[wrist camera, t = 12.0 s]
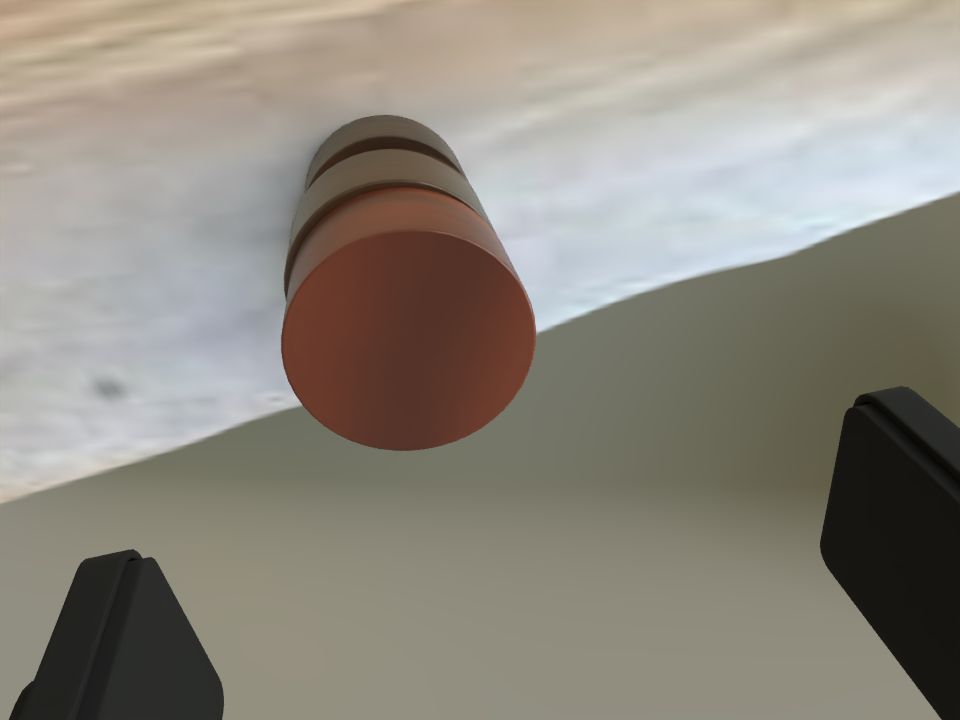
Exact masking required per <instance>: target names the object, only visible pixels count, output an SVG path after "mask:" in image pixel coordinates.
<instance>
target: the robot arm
mask: <svg viewBox="0 0 960 720" xmlns="http://www.w3.org/2000/svg"><path fill="white" fill-rule="evenodd" d="M820 548H821V554H822V557H823V560H824V562H825V564H826V566H827V568H828V569H829V570H830V572H831V573H832V574H833V576H834V577H835V579H836V580H837V581H838V583H839V584H840V585H841V587H842V588H843V589H844V590H845V592H846V593H847V594H848V596H849V597H850V598H851V600H852V601H853V602H854V604H855V605H856V606H857V608H858V609H859V610H860V612H861V613H862V614H863V616H864V617H865V618H866V620H867V621H868V622H869V624H870V625H871V626H872V628H873V629H874V630H875V631H876V633H877V634H878V636H879V637H880V638H881V640H882V641H883V642H884V643H885V645H886V646H887V647H888V649H889V650H890V652H891V653H892V654H893V655H894V657H895V658H896V659H897V661H898V662H899V663H900V665H901V666H902V667H903V669H904V670H905V671H906V673H907V674H908V675H909V677H910V678H911V679H912V681H913V682H914V683H915V685H916V686H917V687H918V689H919V690H920V691H921V693H922V694H923V695H924V697H925V698H926V699H927V701H928V702H929V703H930V705H931V706H932V707H933V709H934V710H935V711H936V713H937V714H938V715H939V717H940V718H941V719H942V720H960V428H958V427H957V426H956V425H955V424H954V423H952V422H951V421H950V420H949V419H948V418H946V417H945V416H944V415H943V414H942V413H940V412H939V411H938V410H937V409H935V408H934V407H933V406H932V405H931V404H929V403H928V402H927V401H926V400H925V399H923V398H922V397H921V396H920V395H918V394H917V393H916V392H915V391H913V390H912V389H909V388H908V387H903V386H900V387H895V388H890V389H886V390H881V391H876V392H871V393H867V394H863V395H860V396H859V397H858V398H857V399H856V400H855V403H854V406H853V407H852V408H849V409H848V410H847V411H846V414H845V416H844V421H843V426H842V431H841V436H840V442H839V447H838V452H837V457H836V462H835V468H834V474H833V478H832V483H831V489H830V494H829V499H828V504H827V510H826V514H825V520H824V525H823V531H822V535H821V541H820ZM223 708H224V696H223V688H222V684H221V681H220V679H219V677H218V675H217V673H216V671H215V669H214V667H213V666H212V664H211V662H210V660H209V658H208V656H207V654H206V653H205V651H204V649H203V647H202V645H201V643H200V641H199V639H198V638H197V636H196V634H195V632H194V630H193V628H192V627H191V625H190V623H189V621H188V619H187V617H186V615H185V614H184V612H183V610H182V608H181V606H180V604H179V602H178V600H177V599H176V597H175V595H174V593H173V591H172V589H171V587H170V586H169V584H168V582H167V580H166V578H165V576H164V574H163V573H162V571H161V569H160V567H159V565H158V563H157V562H156V561H155V559H153V558H152V557H149V558H144V559H143V558H142V557H141V555H140V554H139V553H138V552H137V551H135V550H134V549H132V550H126V551H121V552H116V553H111V554H107V555H102V556H98V557H93V558H88V559H85V560H84V561H83V562H81V564H80V566H79V567H78V569H77V572H76V574H75V577H74V579H73V582H72V584H71V587H70V590H69V592H68V595H67V597H66V600H65V602H64V605H63V608H62V610H61V613H60V615H59V618H58V620H57V623H56V625H55V628H54V630H53V633H52V636H51V638H50V641H49V643H48V646H47V648H46V651H45V654H44V656H43V659H42V661H41V664H40V666H39V669H38V672H37V674H36V677H35V679H34V681H32V682H31V683H30V684H28V685H27V686H26V687H25V688H24V690H22V692H21V694H20V696H19V698H18V700H17V702H16V704H15V706H14V708H13V711H12V713H11V716H10V718H9V720H222V716H223Z"/></svg>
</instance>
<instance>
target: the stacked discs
mask: <svg viewBox="0 0 960 720" xmlns="http://www.w3.org/2000/svg"><path fill="white" fill-rule="evenodd" d="M404 187H406V188H418V189H424V190H429V191H434V192H437V193H440V194H443V195H446V196H449V197H451V198H453V199H455V200H457V201H459V202H461V203H463V204H465V205H466V206H467V207H469V208H470V209H472V210H473V211H475V212H476V213H477V214H478V215H479V216H480V217H481V218H482V219H484V220H485V221H486V222H487V224H488V225H489V226H490V227H491V228H492V230H493V231H494V229H493V227H492V225H491V223H490V221H489V219H488V217H487V215H486V213H485V211H484V209H483V207H482V205H481V203H480V201H479V199H478V197H477V195H476V193H475V192H474V190H473V188H472V187H471V185H470V184H469V182H468V180H467V178H466V176H465V174H464V172H463V170H462V168H461V166H460V164H459V162H458V160H457V158H456V156H455V155H454V153H453V151H452V150H451V149H450V147H449V146H448V145H447V144H446V142H445V141H444V140H443V139H442V138H441V137H439V136H438V135H437V134H436V133H435V132H433V131H432V130H431V129H429V128H428V127H426V126H424V125H422V124H420V123H418V122H415V121H413V120H410V119H407V118H403V117H398V116H389V115H382V116H371V117H365V118H362V119H359V120H356V121H353V122H351V123H349V124H347V125H345V126H343V127H342V128H340V129H339V130H337V131H336V132H334V133H333V134H332V135H331V136H330V137H329V138H328V139H327V140H326V141H325V142H324V143H323V144H322V145H321V147H320V148H319V150H318V151H317V153H316V154H315V156H314V158H313V160H312V162H311V165H310V167H309V171H308V174H307V179H306V186H305V193H304V196H303V198H302V200H301V202H300V204H299V206H298V208H297V210H296V213H295V216H294V220H293V223H292V229H291V235H290V241H289V247H288V253H287V259H286V266H285V273H284V292H285V298H286V301H287V294H288V287H289V280H290V273H291V269H292V265H293V262H294V259H295V256H296V254H297V252H298V250H299V248H300V246H301V244H302V242H303V241H304V239H305V238H306V236H307V235H308V233H309V232H310V231H311V229H312V228H313V227H314V226H315V225H316V224H317V223H318V222H319V221H320V220H321V219H322V218H323V217H324V216H325V215H327V214H328V213H329V212H330V211H331V210H333V209H335V208H336V207H338V206H339V205H341V204H342V203H344V202H346V201H348V200H350V199H352V198H355V197H357V196H359V195H362V194H366V193H369V192H372V191H376V190H382V189H387V188H404ZM494 232H495V231H494ZM495 234H496V233H495Z"/></svg>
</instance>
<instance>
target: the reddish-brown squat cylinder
mask: <svg viewBox="0 0 960 720" xmlns="http://www.w3.org/2000/svg"><path fill="white" fill-rule="evenodd" d="M535 343H536V326H535V317H534V313H533V309H532V305H531V302H530V300H529V298H528V295H527V293H526V290H525V288H524V286H523V285H522V283H521V281H520V279H519V277H518V275H517V273H516V271H515V269H514V267H513V265H512V263H511V261H510V259H509V257H508V255H507V253H506V251H505V249H504V247H503V245H502V243H501V242H500V240H499V239H498V237H497V235H496V234H495V232H494V231H493V230H492V228H491V227H490V226H489V225H488V224H487V222H486V221H485V220H484V219H482V218H481V217H480V216H479V215H478V214H477V213H476V212H475V211H473V210H472V209H470V208H469V207H467V206H466V205H465V204H463V203H461V202H459V201H457V200H455V199H453V198H451V197H449V196H446V195H443V194H440V193H437V192H434V191H429V190H424V189H418V188H406V187H404V188H387V189H382V190H376V191H372V192H369V193H366V194H362V195H359V196H357V197H355V198H352V199H350V200H348V201H346V202H344V203H342V204H341V205H339V206H338V207H336V208H335V209H333V210H331V211H330V212H329V213H328V214H327V215H325V216H324V217H323V218H322V219H321V220H320V221H319V222H318V223H317V224H316V225H315V226H314V227H313V228H312V229H311V231H310V232H309V233H308V235H307V236H306V238H305V239H304V241H303V242H302V244H301V246H300V248H299V250H298V252H297V254H296V256H295V259H294V262H293V265H292V269H291V273H290V280H289V287H288V294H287V301H286V307H285V314H284V321H283V328H282V335H281V353H282V359H283V366H284V369H285V372H286V375H287V378H288V381H289V383H290V385H291V387H292V389H293V391H294V393H295V395H296V396H297V398H298V399H299V400H300V402H301V403H302V405H303V406H304V407H305V408H306V409H307V410H308V411H309V413H310V414H311V415H312V416H313V417H314V418H315V419H317V420H318V421H319V422H320V423H321V424H323V425H324V426H325V427H327V428H328V429H330V430H331V431H333V432H335V433H337V434H338V435H340V436H342V437H344V438H346V439H348V440H350V441H353V442H356V443H359V444H362V445H365V446H369V447H374V448H378V449H385V450H397V451H401V450H402V451H411V450H421V449H428V448H433V447H438V446H442V445H445V444H448V443H451V442H454V441H457V440H459V439H461V438H464V437H466V436H468V435H470V434H472V433H473V432H475V431H477V430H479V429H481V428H482V427H483V426H485V425H486V424H488V423H489V422H490V421H492V420H493V419H494V418H495V417H496V416H498V415H499V414H500V413H501V412H502V411H503V410H504V409H505V408H506V407H507V406H508V404H509V403H510V402H511V401H512V400H513V399H514V397H515V395H516V394H517V393H518V391H519V390H520V388H521V387H522V385H523V383H524V380H525V379H526V376H527V375H528V372H529V369H530V366H531V363H532V360H533V355H534V350H535Z"/></svg>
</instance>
